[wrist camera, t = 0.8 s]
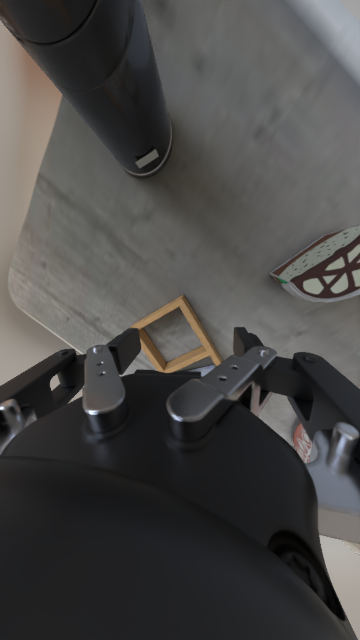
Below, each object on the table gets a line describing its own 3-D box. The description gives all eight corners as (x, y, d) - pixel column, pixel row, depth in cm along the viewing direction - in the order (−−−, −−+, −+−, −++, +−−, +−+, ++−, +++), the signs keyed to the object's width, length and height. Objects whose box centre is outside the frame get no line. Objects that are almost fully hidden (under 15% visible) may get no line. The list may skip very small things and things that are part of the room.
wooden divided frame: (133, 324, 35) (127, 329, 33) (183, 294, 32) (181, 297, 29) (190, 404, 40) (189, 415, 37) (238, 386, 37) (241, 396, 34)
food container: (279, 306, 30) (313, 325, 21) (261, 279, 29) (288, 286, 20) (352, 260, 27) (434, 258, 17) (334, 227, 26) (410, 206, 16)
